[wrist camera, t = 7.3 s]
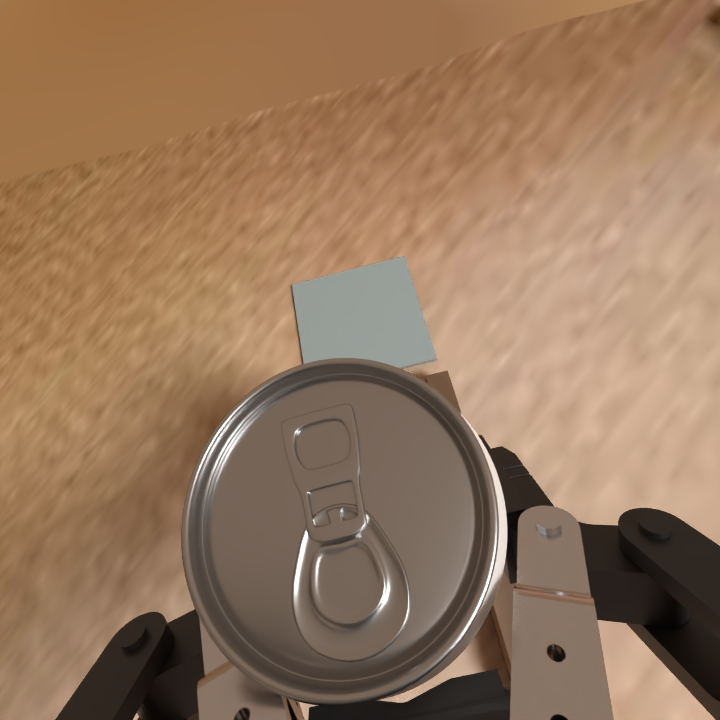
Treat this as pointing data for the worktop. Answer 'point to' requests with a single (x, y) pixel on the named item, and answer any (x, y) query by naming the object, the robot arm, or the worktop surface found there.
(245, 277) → the worktop surface
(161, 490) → the worktop surface
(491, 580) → the can
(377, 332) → the pad
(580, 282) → the worktop surface
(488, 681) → the robot arm
